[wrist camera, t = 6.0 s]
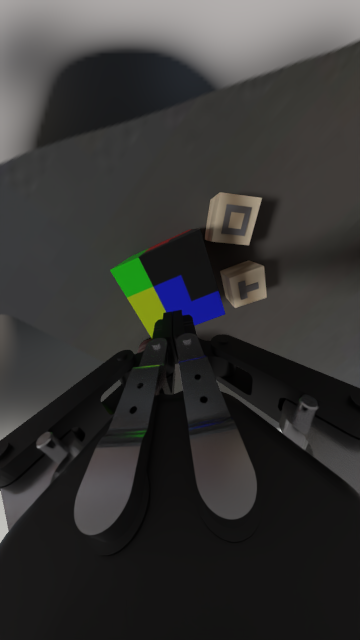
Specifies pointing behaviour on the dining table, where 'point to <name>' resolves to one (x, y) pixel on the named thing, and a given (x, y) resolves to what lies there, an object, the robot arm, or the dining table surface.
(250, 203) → the marked block
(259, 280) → the marked block
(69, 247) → the dining table surface
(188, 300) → the puzzle toy
